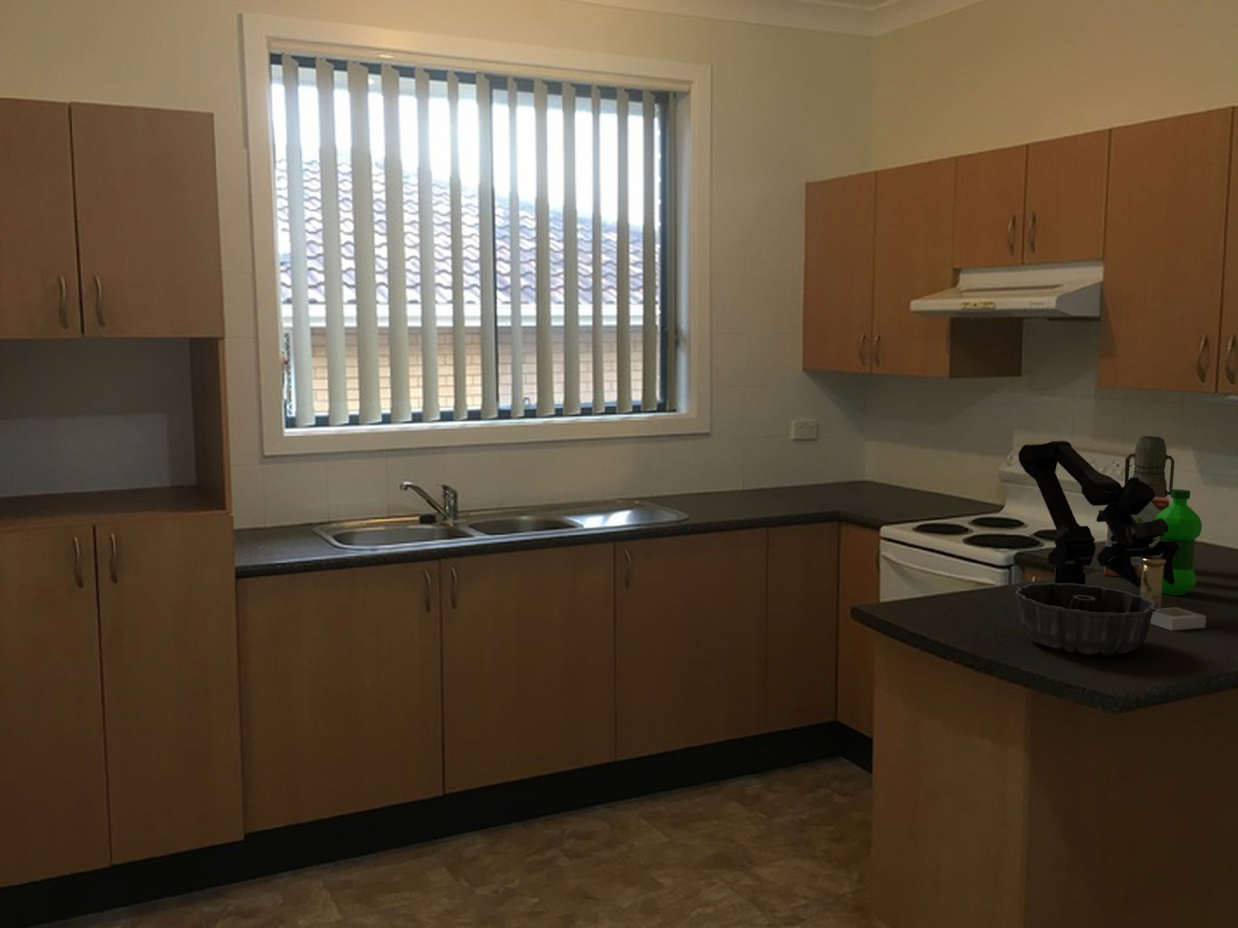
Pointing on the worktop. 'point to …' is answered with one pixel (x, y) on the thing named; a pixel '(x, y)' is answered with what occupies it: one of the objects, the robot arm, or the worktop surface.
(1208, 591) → the worktop surface
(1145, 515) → the cracker box
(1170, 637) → the worktop surface
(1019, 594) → the bundt pan
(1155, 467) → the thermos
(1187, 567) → the plastic bottle
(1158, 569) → the gold cylinder
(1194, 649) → the worktop surface
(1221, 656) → the worktop surface
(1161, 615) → the frame
